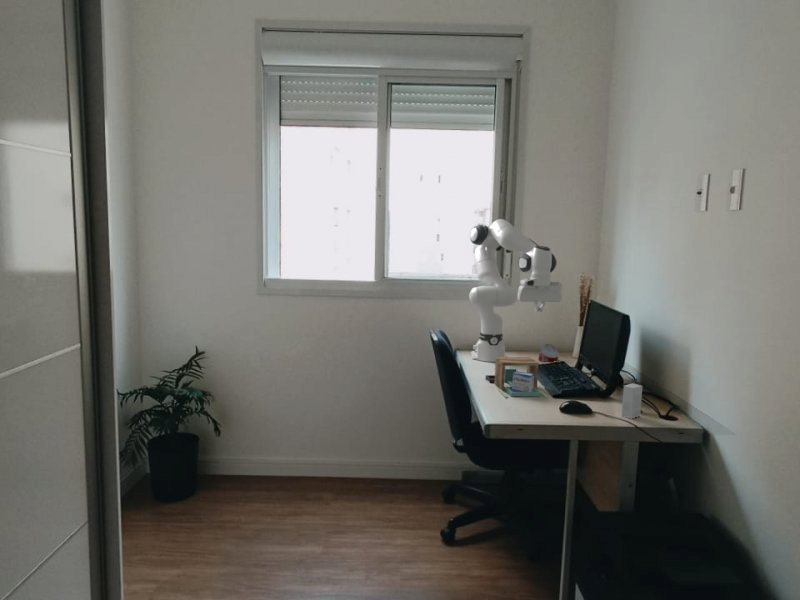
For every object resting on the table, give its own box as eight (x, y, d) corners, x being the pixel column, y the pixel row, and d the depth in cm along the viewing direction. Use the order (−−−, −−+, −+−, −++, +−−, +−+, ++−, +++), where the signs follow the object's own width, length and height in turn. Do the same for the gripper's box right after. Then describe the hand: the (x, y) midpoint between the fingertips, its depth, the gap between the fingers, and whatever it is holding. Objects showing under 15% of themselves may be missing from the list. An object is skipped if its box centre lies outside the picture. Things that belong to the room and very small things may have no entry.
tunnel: (494, 384, 241) (495, 357, 239) (528, 383, 242) (530, 357, 241) (501, 390, 231) (502, 362, 229) (536, 390, 233) (538, 362, 231)
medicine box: (511, 393, 227) (512, 372, 226) (514, 390, 231) (515, 370, 230) (530, 396, 224) (531, 375, 223) (533, 393, 228) (534, 373, 226)
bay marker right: (536, 390, 233) (536, 389, 232) (539, 390, 233) (539, 389, 233) (545, 397, 223) (545, 396, 223) (548, 397, 223) (548, 396, 223)
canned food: (554, 368, 291) (564, 353, 289) (550, 370, 282) (561, 354, 280) (536, 356, 295) (546, 340, 293) (532, 357, 286) (542, 342, 284)
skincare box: (629, 413, 206) (632, 382, 205) (640, 416, 203) (643, 385, 201) (620, 416, 203) (623, 385, 201) (631, 419, 199) (634, 388, 198)
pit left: (485, 378, 249) (485, 375, 249) (496, 378, 250) (496, 375, 250) (489, 382, 242) (489, 379, 242) (500, 382, 243) (500, 379, 243)
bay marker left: (498, 390, 231) (498, 389, 230) (501, 390, 231) (501, 389, 231) (505, 398, 221) (505, 396, 221) (508, 398, 221) (508, 396, 221)
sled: (496, 381, 244) (497, 368, 243) (522, 381, 245) (523, 368, 245) (511, 396, 223) (512, 382, 222) (539, 396, 224) (540, 381, 223)
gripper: (559, 281, 253) (557, 310, 255) (517, 280, 251) (515, 310, 253) (564, 282, 247) (562, 312, 249) (521, 281, 245) (519, 312, 247)
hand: (538, 311), depth 251 cm, fingers closed
